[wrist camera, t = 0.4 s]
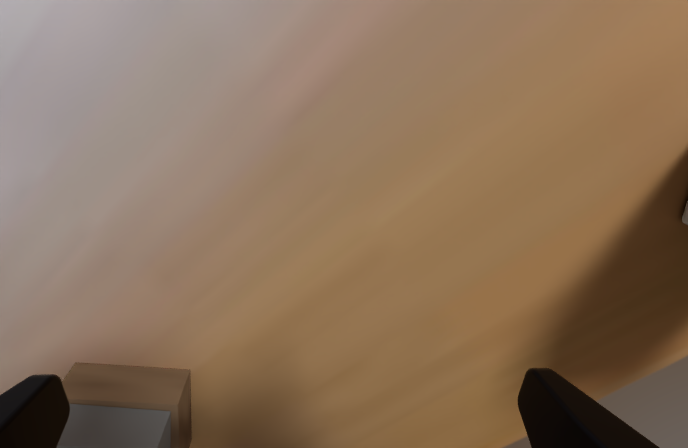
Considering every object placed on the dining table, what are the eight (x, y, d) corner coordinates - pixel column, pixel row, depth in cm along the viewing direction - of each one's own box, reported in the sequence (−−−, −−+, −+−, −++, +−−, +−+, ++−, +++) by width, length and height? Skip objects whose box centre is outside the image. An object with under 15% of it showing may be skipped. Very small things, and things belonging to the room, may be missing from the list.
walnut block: (192, 435, 30) (180, 476, 27) (91, 431, 29) (68, 473, 26) (191, 365, 27) (177, 404, 24) (78, 358, 26) (50, 397, 23)
